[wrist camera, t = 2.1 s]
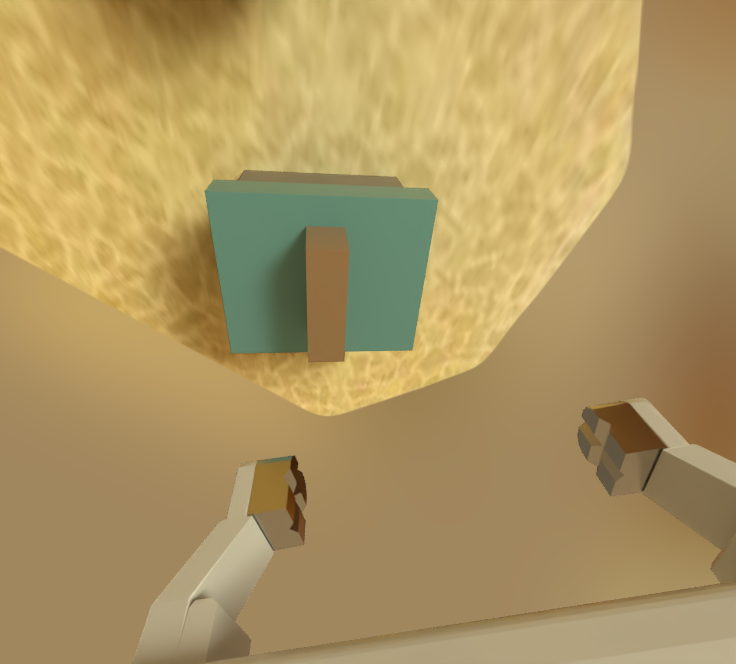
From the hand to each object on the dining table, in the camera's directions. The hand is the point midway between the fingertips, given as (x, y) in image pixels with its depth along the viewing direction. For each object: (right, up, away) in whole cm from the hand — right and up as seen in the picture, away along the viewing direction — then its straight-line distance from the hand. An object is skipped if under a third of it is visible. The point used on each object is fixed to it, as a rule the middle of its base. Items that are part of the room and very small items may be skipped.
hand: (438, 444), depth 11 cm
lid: (-5, +8, +18) cm, 20 cm away
